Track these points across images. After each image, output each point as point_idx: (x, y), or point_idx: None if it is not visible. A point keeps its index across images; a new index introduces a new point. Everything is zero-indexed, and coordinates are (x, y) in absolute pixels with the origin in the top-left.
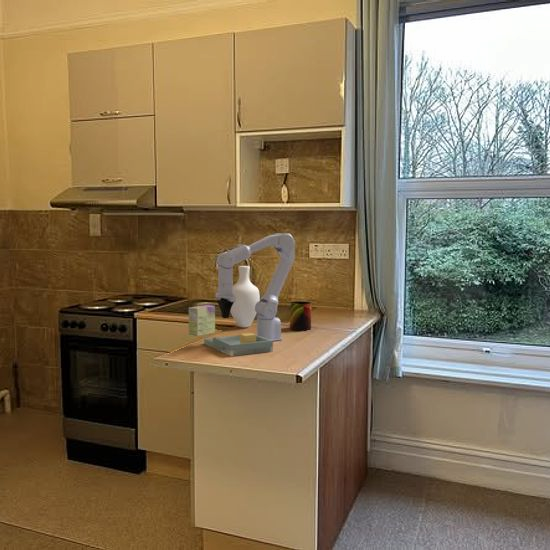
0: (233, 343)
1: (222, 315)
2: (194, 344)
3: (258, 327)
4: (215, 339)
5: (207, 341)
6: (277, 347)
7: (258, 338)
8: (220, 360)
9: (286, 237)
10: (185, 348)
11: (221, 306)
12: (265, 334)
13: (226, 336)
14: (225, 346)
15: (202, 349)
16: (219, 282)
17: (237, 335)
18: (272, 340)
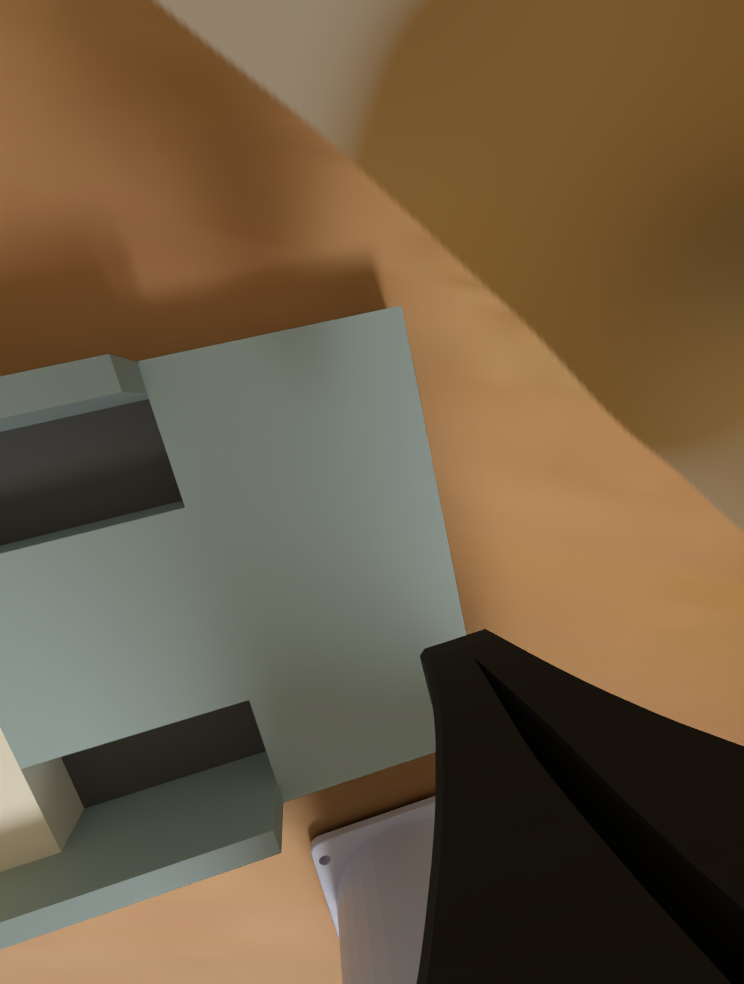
0: (44, 589)
1: (477, 657)
2: (382, 202)
3: (416, 956)
4: (14, 375)
5: (302, 329)
6: (75, 934)
7: (82, 875)
8: None
9: None
10: (186, 35)
11: (593, 881)
12: (344, 935)
13: (452, 571)
14: None
15: (93, 233)
16: None
17: None
18: (335, 922)
